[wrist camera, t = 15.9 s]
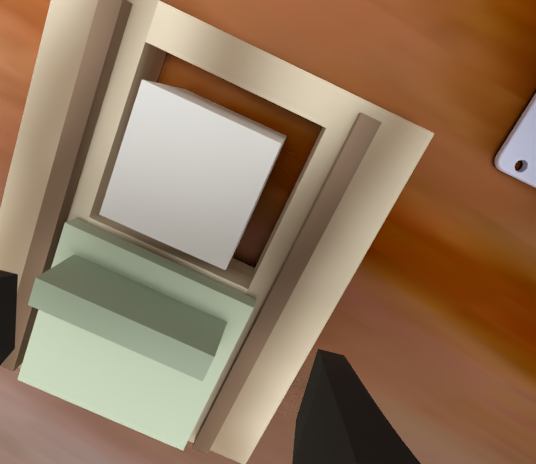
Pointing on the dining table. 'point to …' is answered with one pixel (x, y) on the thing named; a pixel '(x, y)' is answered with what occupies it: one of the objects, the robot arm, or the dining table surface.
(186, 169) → the grey block
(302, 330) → the sliding lid box
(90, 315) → the cover
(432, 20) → the dining table surface
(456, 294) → the dining table surface
